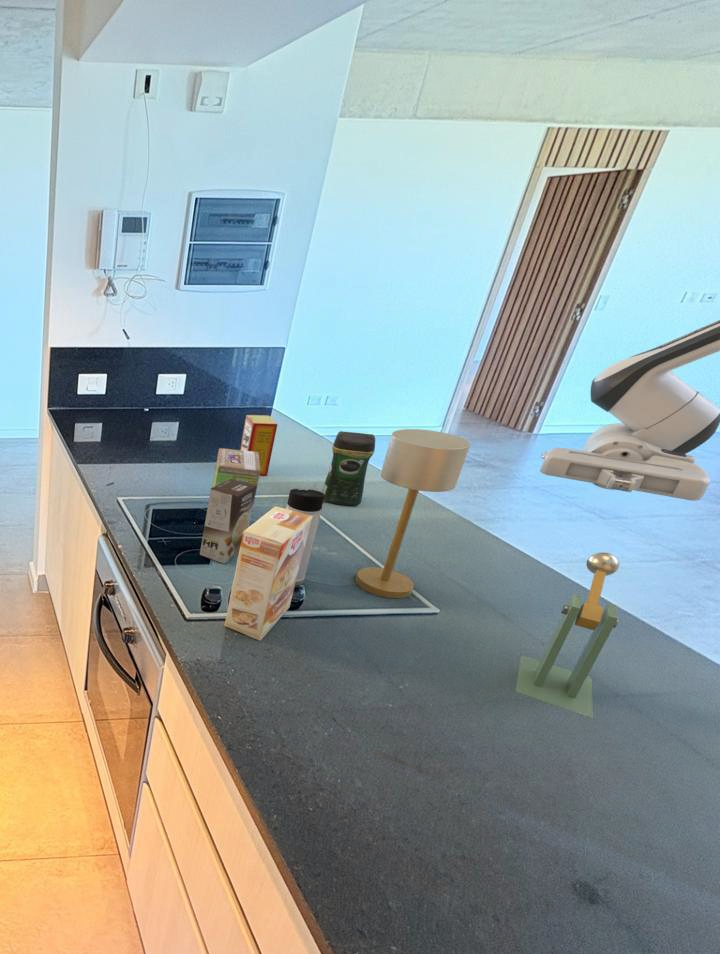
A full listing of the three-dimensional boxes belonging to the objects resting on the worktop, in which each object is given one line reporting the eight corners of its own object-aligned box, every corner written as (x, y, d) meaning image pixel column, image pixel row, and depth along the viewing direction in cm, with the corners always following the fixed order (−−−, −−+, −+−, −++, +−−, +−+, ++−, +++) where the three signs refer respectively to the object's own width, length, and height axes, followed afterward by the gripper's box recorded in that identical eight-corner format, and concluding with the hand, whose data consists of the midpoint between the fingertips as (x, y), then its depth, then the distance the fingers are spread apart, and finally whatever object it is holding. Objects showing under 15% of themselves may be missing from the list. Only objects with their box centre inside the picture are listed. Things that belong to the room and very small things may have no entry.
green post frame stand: (517, 660, 103) (555, 579, 96) (588, 683, 98) (633, 599, 91) (512, 698, 95) (553, 612, 88) (589, 724, 90) (639, 636, 83)
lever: (585, 558, 97) (593, 544, 94) (615, 565, 95) (625, 551, 92) (566, 625, 92) (575, 613, 89) (598, 634, 90) (608, 622, 87)
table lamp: (389, 569, 131) (434, 427, 117) (431, 598, 121) (487, 447, 107) (337, 573, 130) (377, 430, 116) (376, 603, 119) (425, 450, 105)
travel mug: (274, 586, 125) (295, 495, 116) (267, 570, 131) (287, 483, 122) (307, 589, 124) (330, 497, 115) (298, 572, 130) (320, 484, 121)
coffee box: (225, 565, 133) (238, 496, 126) (198, 555, 137) (209, 488, 130) (245, 551, 139) (258, 484, 132) (218, 542, 143) (230, 477, 136)
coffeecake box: (260, 642, 108) (283, 543, 99) (222, 626, 112) (240, 530, 104) (291, 607, 118) (314, 515, 109) (255, 594, 122) (274, 504, 113)
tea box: (250, 526, 150) (261, 469, 144) (207, 521, 153) (216, 465, 146) (249, 503, 163) (259, 450, 156) (209, 499, 166) (218, 446, 159)
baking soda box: (237, 464, 190) (246, 413, 183) (259, 465, 190) (269, 414, 182) (244, 475, 182) (253, 422, 175) (266, 476, 181) (277, 423, 174)
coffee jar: (359, 498, 166) (378, 431, 158) (360, 508, 160) (380, 439, 151) (320, 492, 170) (336, 426, 161) (319, 502, 163) (336, 435, 155)
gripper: (549, 434, 112) (546, 453, 103) (708, 458, 101) (722, 482, 91) (535, 467, 115) (531, 488, 106) (689, 493, 103) (700, 520, 94)
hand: (621, 485), depth 98 cm, fingers closed
